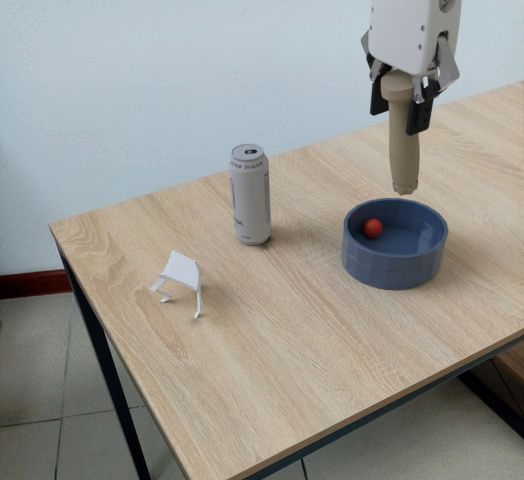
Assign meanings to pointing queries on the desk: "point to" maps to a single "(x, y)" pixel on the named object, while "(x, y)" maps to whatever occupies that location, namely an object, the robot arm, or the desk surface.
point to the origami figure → (181, 276)
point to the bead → (372, 228)
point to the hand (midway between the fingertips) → (398, 120)
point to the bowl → (394, 243)
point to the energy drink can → (250, 193)
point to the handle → (401, 132)
